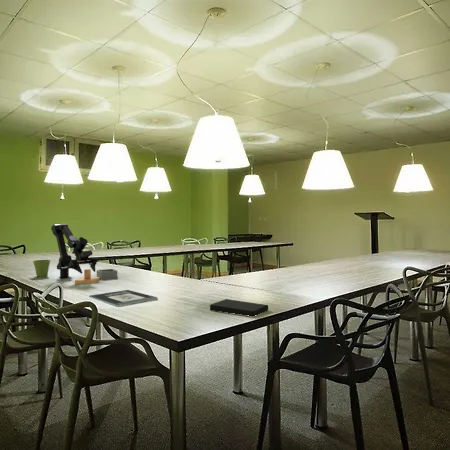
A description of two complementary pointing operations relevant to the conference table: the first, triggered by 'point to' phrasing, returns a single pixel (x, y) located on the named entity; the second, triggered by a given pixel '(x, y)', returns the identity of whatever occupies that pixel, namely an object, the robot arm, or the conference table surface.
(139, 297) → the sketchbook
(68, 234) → the robot arm
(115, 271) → the storage box
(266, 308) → the external hard drive
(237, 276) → the conference table surface
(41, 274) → the plant pot
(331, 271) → the conference table surface
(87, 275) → the lid
